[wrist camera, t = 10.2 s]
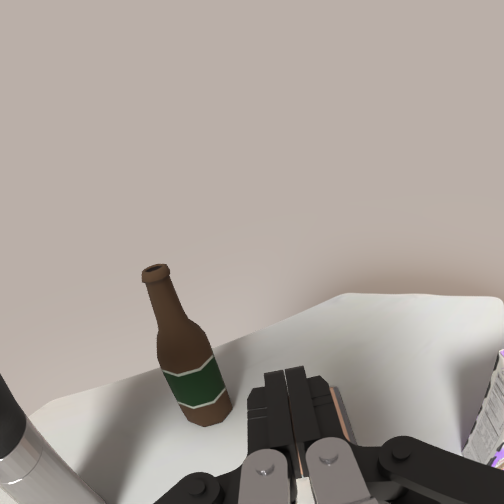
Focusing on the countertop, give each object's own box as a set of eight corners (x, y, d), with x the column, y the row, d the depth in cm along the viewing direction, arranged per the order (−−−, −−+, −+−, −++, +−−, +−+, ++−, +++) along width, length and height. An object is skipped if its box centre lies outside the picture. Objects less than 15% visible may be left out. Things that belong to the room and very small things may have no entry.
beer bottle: (177, 409, 44) (117, 274, 37) (216, 386, 49) (169, 252, 41) (201, 436, 38) (133, 287, 31) (244, 409, 42) (195, 260, 35)
